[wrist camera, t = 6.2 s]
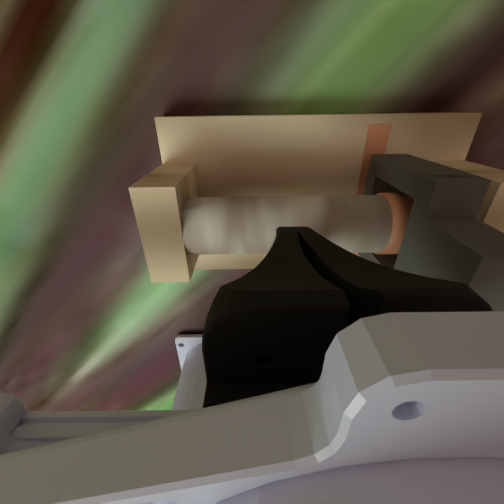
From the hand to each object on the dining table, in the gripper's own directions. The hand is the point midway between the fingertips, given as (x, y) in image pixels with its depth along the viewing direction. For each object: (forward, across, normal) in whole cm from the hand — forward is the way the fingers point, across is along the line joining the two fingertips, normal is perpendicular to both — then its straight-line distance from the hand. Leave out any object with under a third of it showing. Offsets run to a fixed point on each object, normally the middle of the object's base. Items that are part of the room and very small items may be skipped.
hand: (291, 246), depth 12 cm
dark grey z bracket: (+5, -6, 0) cm, 8 cm away
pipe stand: (+7, -2, 0) cm, 8 cm away
